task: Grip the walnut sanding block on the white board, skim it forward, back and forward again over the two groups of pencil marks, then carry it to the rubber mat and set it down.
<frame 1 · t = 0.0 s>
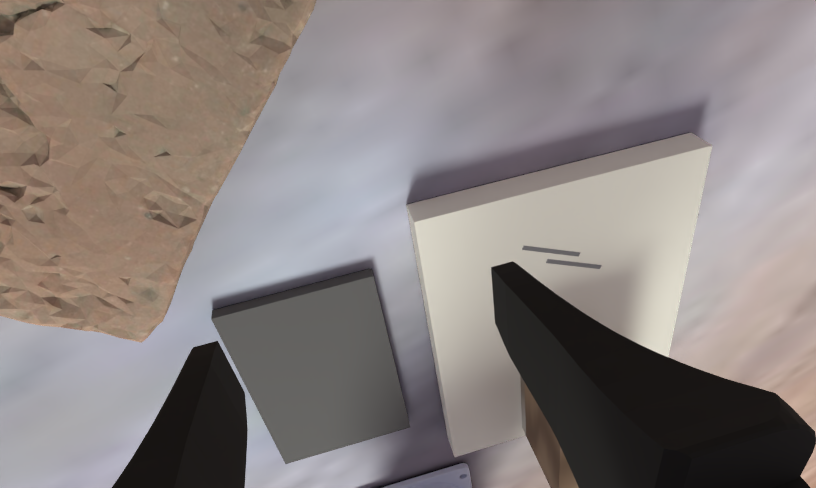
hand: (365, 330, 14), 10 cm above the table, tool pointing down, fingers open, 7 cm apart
brick: (122, 69, 19), on the table
sanding block: (561, 380, 32), point 2 cm above the table, touching board
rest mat: (323, 372, 29), on the table
board: (550, 308, 30), on the table
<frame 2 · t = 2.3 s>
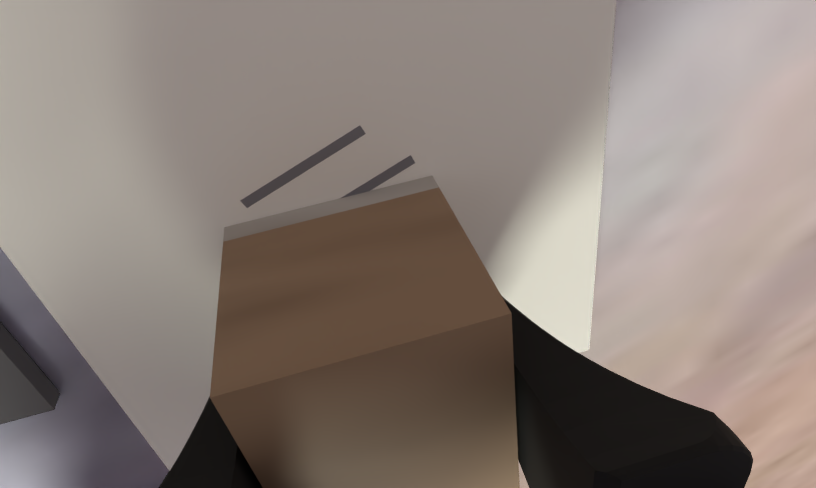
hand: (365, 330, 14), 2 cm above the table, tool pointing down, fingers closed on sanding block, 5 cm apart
sanding block: (360, 308, 15), point 2 cm above the table, touching board, gripper
board: (314, 136, 13), on the table
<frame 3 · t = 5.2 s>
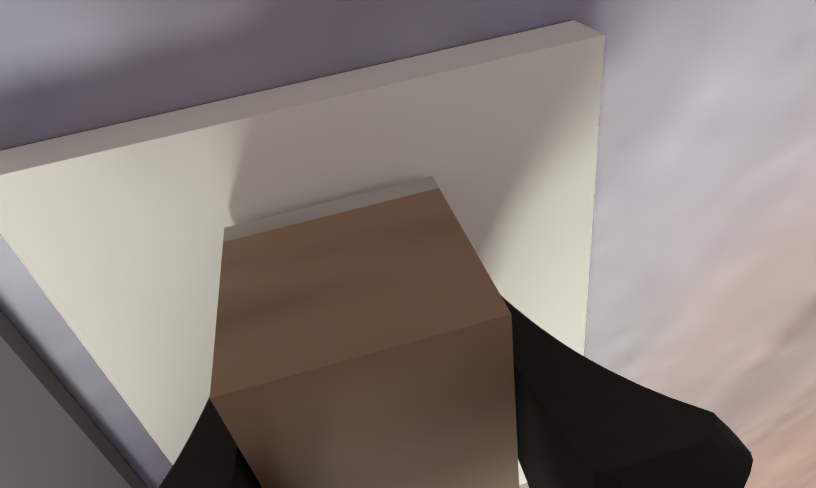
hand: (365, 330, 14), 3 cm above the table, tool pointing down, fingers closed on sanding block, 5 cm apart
sanding block: (359, 308, 15), point 2 cm above the table, touching gripper
board: (370, 342, 18), on the table
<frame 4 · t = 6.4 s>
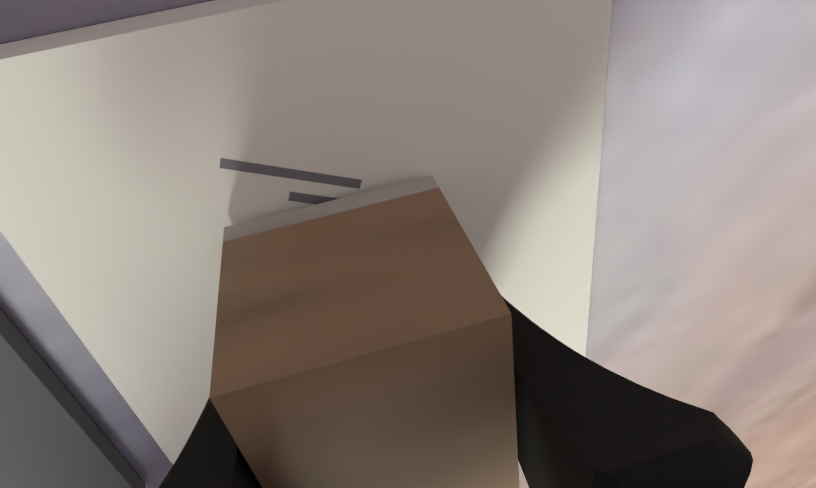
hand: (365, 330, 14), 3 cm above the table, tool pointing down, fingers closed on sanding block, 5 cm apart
sanding block: (359, 308, 15), point 2 cm above the table, touching gripper
board: (359, 297, 17), on the table
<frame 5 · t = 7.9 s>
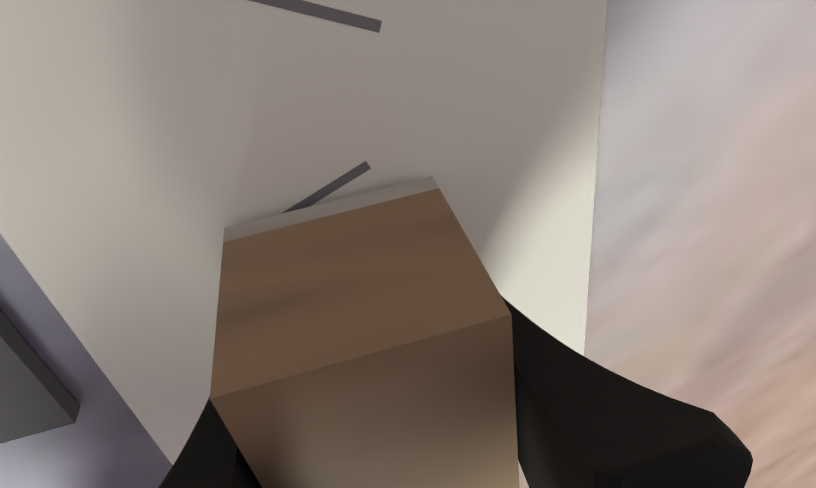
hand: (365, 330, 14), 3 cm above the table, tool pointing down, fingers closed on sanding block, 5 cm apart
sanding block: (359, 308, 15), point 2 cm above the table, touching gripper
board: (322, 167, 14), on the table
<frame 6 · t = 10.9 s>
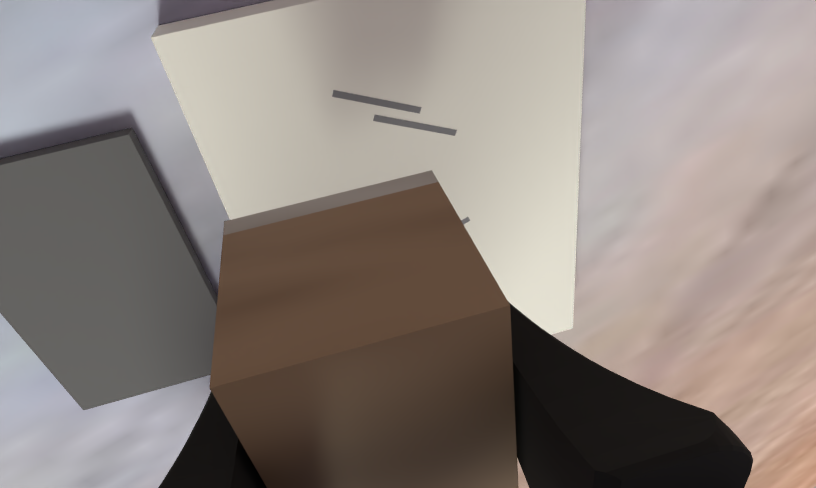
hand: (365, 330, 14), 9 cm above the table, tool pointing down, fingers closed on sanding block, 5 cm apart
sanding block: (359, 303, 15), point 8 cm above the table, touching gripper
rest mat: (106, 283, 22), on the table
board: (410, 204, 23), on the table
when the fingers open (2 cm above the table, at t = 13.3 s): sanding block stays where it is, resting on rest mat.
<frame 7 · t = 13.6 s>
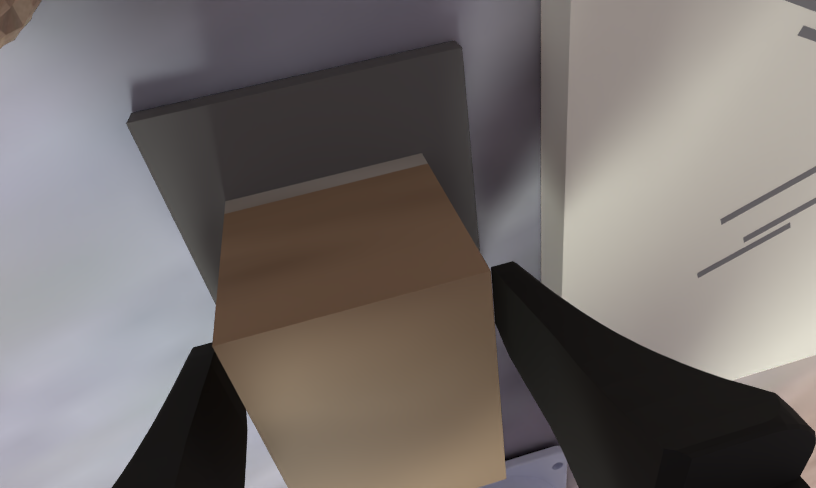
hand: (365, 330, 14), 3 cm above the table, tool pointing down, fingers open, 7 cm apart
sanding block: (354, 282, 15), point 1 cm above the table, touching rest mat
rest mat: (351, 272, 16), on the table
board: (745, 168, 17), on the table
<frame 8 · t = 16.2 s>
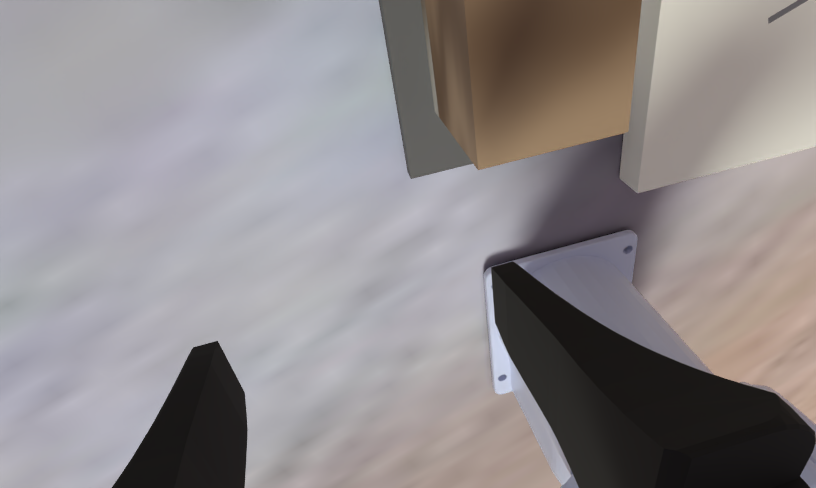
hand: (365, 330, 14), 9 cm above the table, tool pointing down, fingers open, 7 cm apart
sanding block: (491, 0, 19), point 1 cm above the table, touching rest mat
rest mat: (485, 0, 19), on the table
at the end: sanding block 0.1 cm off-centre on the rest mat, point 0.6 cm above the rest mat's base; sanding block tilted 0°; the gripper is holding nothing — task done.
